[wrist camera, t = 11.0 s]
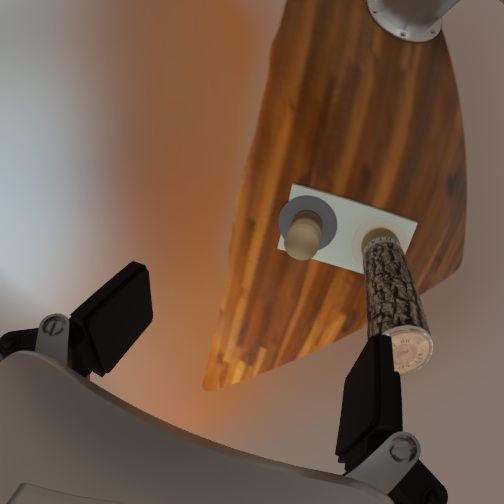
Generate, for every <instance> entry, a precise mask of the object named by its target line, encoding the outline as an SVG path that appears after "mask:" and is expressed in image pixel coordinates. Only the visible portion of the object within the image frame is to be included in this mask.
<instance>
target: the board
mask: <svg viewBox="0 0 504 504" xmlns="http://www.w3.org/2000/svg"><path fill="white" fill-rule="evenodd" d="M303 210H311V211H314V212H315V213H317V214H318V215H319V216H320V218H321V219H322V223H323V227H322V232H321V237H320V243H319V248H318V251H317V253H316V254H315V256H313V257H312V259H315V260H318V261H322V262H325V263H329V264H332V265H335V266H339V267H342V268H345V269H349V270H352V271H355V272H359V273H362V274H364V272H363V268H362V267H361V266H360V265H359V264H358V263H357V262H356V261H355V259H354V257H353V254H352V249H351V244H352V239H353V236H354V234H355V232H356V231H357V229H358V228H359V227H360V226H361V225H363V224H364V223H366V222H367V221H370V220H372V219H377V218H384V219H389V220H391V221H394V222H395V223H397V224H398V225H399V226H400V227H401V228H402V229H403V231H404V233H405V235H406V238H407V248H408V246H409V244H410V241H411V239H412V236H413V234H414V231H415V229H416V226H417V224H418V223H417V222H416V221H414V220H411V219H408V218H406V217H403V216H400V215H397V214H394V213H391V212H388V211H385V210H382V209H379V208H376V207H373V206H370V205H367V204H364V203H361V202H358V201H355V200H351V199H348V198H345V197H342V196H338V195H335V194H332V193H328V192H325V191H321V190H318V189H314V188H310V187H307V186H303V185H299V184H296V183H293V184H292V188H291V193H290V197H289V201H288V202H287V203H286V204H285V205H284V206H283V208H282V210H281V212H280V214H279V219H278V225H279V230H280V233H281V236H280V240H279V244H278V249H281V250H285V247H284V240H285V237H286V235H287V232H288V230H289V228H290V226H291V224H292V221H293V219H294V217H295V215H296V214H297V213H299V212H300V211H303ZM285 251H286V250H285Z"/></svg>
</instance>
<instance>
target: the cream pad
mask: <svg viewBox="0 0 504 504" xmlns="http://www.w3.org/2000/svg"><path fill="white" fill-rule="evenodd" d="M378 228H384V229H388V230H390V231H392V232H393V233H394V234H395V235H396V236H397V238H398V240H399V242H400V245H401V247H402V249H403V252H404V254H406V251H407V238H406V235H405V233H404V231H403V229H402V228H401V227H400V226H399V225H398V224H397V223H395V222H394V221H391V220H389V219H384V218H377V219H372V220H370V221H367V222H366V223H364V224H363V225H361V226H360V227H359V228H358V229H357V231H356V232H355V234H354V236H353V239H352V244H351V249H352V254H353V257H354V259H355V261H356V262H357V263H358V264H359V265H360V266H361V267H362V268H363V261H362V251H361V245H362V241H363V239H364V237H365V236H366V235H367V234H368V233H369V232H370V231H372V230H374V229H378Z"/></svg>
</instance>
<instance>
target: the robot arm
mask: <svg viewBox="0 0 504 504" xmlns="http://www.w3.org/2000/svg"><path fill="white" fill-rule="evenodd" d="M458 1H459V0H367V7H368V9H369V12H370V14H371V16H372V18H373V19H374V20H375V22H376V23H377V24H378V25H379V26H380V27H381V28H382V29H383V30H385V31H386V32H387V33H389V34H390V35H392V36H394V37H396V38H398V39H401V40H403V41H407V42H413V43H421V42H426V41H429V40H431V39H433V38H434V37H435V36H436V35H437V34H438V33H439V31H440V30H441V27H442V16H443V15H444V14H445V13H446V12H447V11H448V10H450V9H451V8H452V7H453V6H454V5H455V4H456V3H457V2H458ZM500 1H501V2H502V3H503V4H504V0H500ZM373 12H376V14H375V13H373ZM431 32H432V33H431ZM401 35H403V37H402V36H401ZM70 315H71V318H69V319H68V318H67V317H66V316H65V315H62V314H51V315H49V316H47V317H46V318H44V319H43V320H42V321H41V323H40V326H39V328H35V329H27V330H19V331H11V332H8V333H6V334H4V335H3V336H2V337H1V338H0V504H447V500H448V494H447V490H446V489H445V487H444V486H443V485H442V484H441V483H440V482H439V481H438V479H437V478H435V476H434V475H433V474H432V473H431V472H430V471H429V470H428V469H427V468H426V467H425V466H424V465H423V463H422V462H421V461H420V460H419V457H420V453H421V448H420V444H419V441H418V440H417V439H416V437H415V436H413V435H412V434H410V433H408V432H403V429H402V428H403V426H402V397H401V383H400V382H401V381H400V374H399V372H398V371H394V359H393V348H392V339H391V336H388V335H384V334H380V333H377V334H376V335H375V336H370V338H369V340H368V342H367V343H366V345H365V347H364V349H363V350H362V352H361V354H360V356H359V357H358V359H357V361H356V362H355V364H354V366H353V367H352V369H351V371H350V372H349V374H348V375H347V377H346V380H345V384H344V392H343V402H342V410H341V417H340V426H339V432H338V438H337V445H336V452H335V454H336V455H337V456H339V458H338V462H339V463H345V470H346V472H344V473H343V474H342V475H337V474H333V473H328V472H323V471H318V470H313V469H308V468H304V467H299V466H294V465H290V464H286V463H283V462H279V461H274V460H271V459H266V458H263V457H260V456H256V455H253V454H249V453H246V452H243V451H240V450H237V449H234V448H231V447H227V446H225V445H222V444H219V443H216V442H213V441H211V440H208V439H205V438H203V437H200V436H198V435H195V434H192V433H190V432H188V431H185V430H183V429H181V428H178V427H176V426H174V425H172V424H169V423H167V422H165V421H163V420H161V419H159V418H156V417H154V416H152V415H150V414H148V413H146V412H144V411H142V410H140V409H138V408H137V407H135V406H133V405H131V404H129V403H127V402H125V401H123V400H122V399H120V398H118V397H116V396H115V395H113V394H111V393H109V392H108V391H106V390H104V389H103V388H101V387H99V386H98V385H96V384H94V383H93V382H91V381H90V373H91V372H92V371H93V372H94V373H96V374H97V375H99V376H101V377H103V376H104V375H105V373H109V372H110V371H111V370H112V369H113V368H114V367H115V365H116V364H117V363H118V362H119V360H120V359H121V358H122V357H123V356H124V354H125V353H126V352H127V351H128V350H129V348H130V347H131V346H132V345H133V344H134V342H135V341H136V340H137V339H138V338H139V336H140V335H141V334H142V333H143V332H144V330H145V329H146V328H147V327H148V326H149V324H150V323H151V322H152V319H153V311H152V302H151V292H150V280H149V271H148V270H147V269H146V266H145V265H143V264H140V263H138V262H134V261H133V262H131V263H129V264H128V265H127V266H126V267H125V268H123V269H122V270H121V271H120V272H119V273H117V274H116V275H115V276H114V277H113V278H111V279H110V280H109V281H108V282H107V283H105V284H104V285H103V286H102V287H101V288H100V289H99V290H97V291H96V292H95V293H94V294H93V295H92V296H90V298H88V299H87V300H86V301H85V302H84V303H83V304H81V305H80V306H79V307H78V308H77V309H76V310H75V311H74V312H73V313H71V314H70Z"/></svg>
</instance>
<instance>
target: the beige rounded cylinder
mask: <svg viewBox="0 0 504 504" xmlns="http://www.w3.org/2000/svg"><path fill="white" fill-rule="evenodd" d="M322 227H323V223H322V219H321V218H320V216H319V215H318V214H317V213H315V212H314V211H311V210H303V211H300V212H299V213H297V214H296V215H295V217H294V219H293V221H292V224H291V226H290V228H289V230H288V232H287V235H286V237H285V240H284V247H285V250H286V252H287V253H288V254H289V255H290V256H291V257H293V258H294V259H297V260H308V259H310V258H312V257H313V256H315V254H316V253H317V251H318V248H319V243H320V237H321V232H322Z"/></svg>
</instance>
